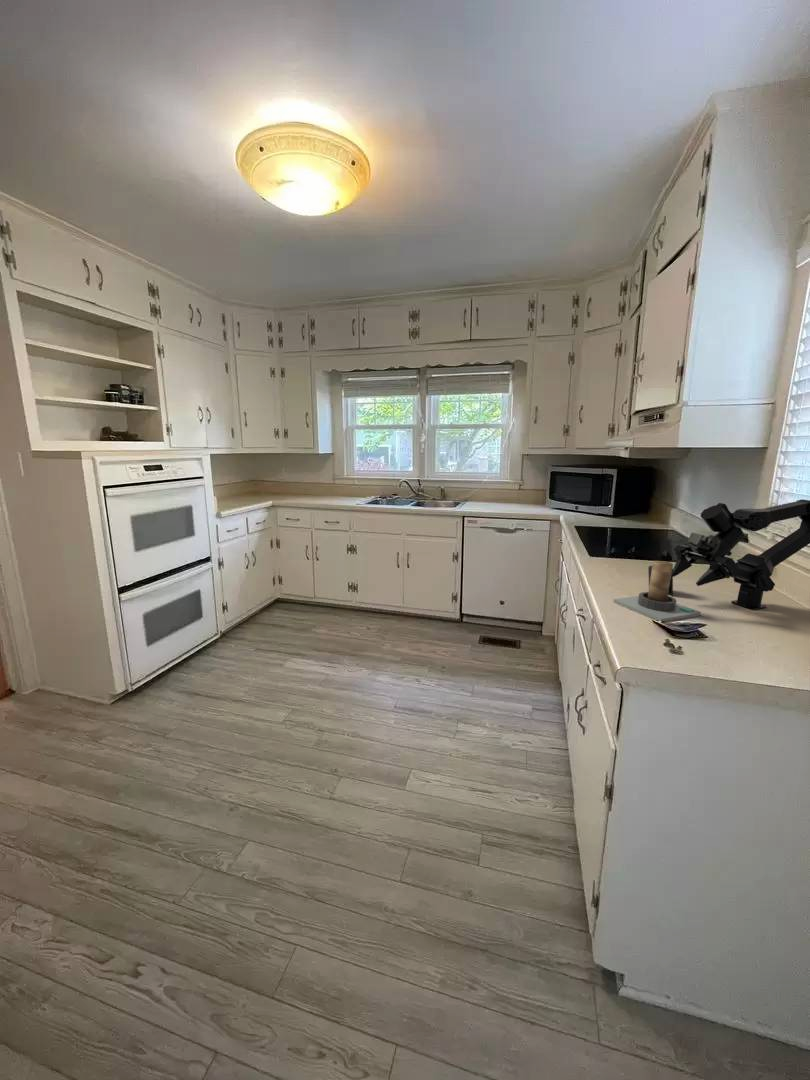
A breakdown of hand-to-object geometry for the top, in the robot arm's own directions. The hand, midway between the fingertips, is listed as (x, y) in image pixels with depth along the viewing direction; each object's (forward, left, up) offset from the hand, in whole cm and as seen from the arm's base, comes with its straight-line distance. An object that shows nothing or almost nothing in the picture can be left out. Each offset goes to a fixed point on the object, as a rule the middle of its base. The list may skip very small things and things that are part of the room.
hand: (684, 580), depth 126 cm
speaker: (-7, -13, -9) cm, 17 cm away
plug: (+8, -2, -8) cm, 11 cm away
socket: (+8, -2, -9) cm, 12 cm away
